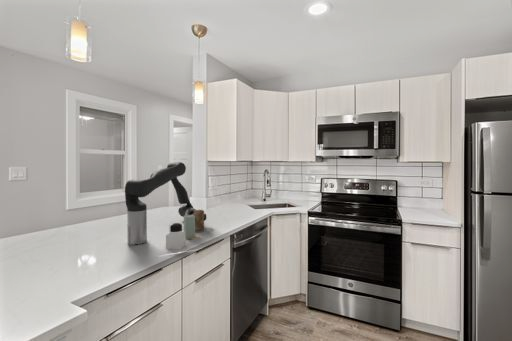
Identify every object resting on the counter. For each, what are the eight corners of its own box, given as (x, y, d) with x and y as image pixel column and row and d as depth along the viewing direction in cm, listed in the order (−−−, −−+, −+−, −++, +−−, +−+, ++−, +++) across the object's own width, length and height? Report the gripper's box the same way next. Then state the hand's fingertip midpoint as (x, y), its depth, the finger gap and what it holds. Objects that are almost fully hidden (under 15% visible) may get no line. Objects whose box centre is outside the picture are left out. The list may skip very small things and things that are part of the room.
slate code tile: (193, 234, 151) (193, 233, 151) (188, 230, 160) (188, 229, 160) (209, 231, 156) (209, 230, 156) (204, 228, 165) (204, 227, 165)
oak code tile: (182, 242, 137) (182, 241, 137) (178, 237, 145) (178, 236, 145) (200, 239, 141) (200, 238, 141) (195, 234, 150) (195, 233, 150)
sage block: (186, 239, 140) (186, 217, 139) (183, 236, 144) (183, 215, 144) (195, 237, 142) (195, 216, 142) (192, 235, 147) (192, 214, 146)
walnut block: (196, 231, 155) (195, 211, 154) (193, 229, 159) (193, 210, 159) (204, 230, 157) (204, 211, 157) (201, 228, 162) (201, 209, 161)
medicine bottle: (185, 245, 131) (185, 222, 131) (179, 250, 124) (179, 225, 124) (172, 245, 132) (171, 221, 131) (165, 249, 125) (165, 225, 124)
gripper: (181, 209, 167) (188, 214, 152) (202, 207, 174) (211, 212, 159) (181, 221, 167) (188, 227, 152) (202, 218, 174) (211, 224, 159)
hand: (200, 219), depth 156 cm, fingers closed on walnut block, 5 cm apart
